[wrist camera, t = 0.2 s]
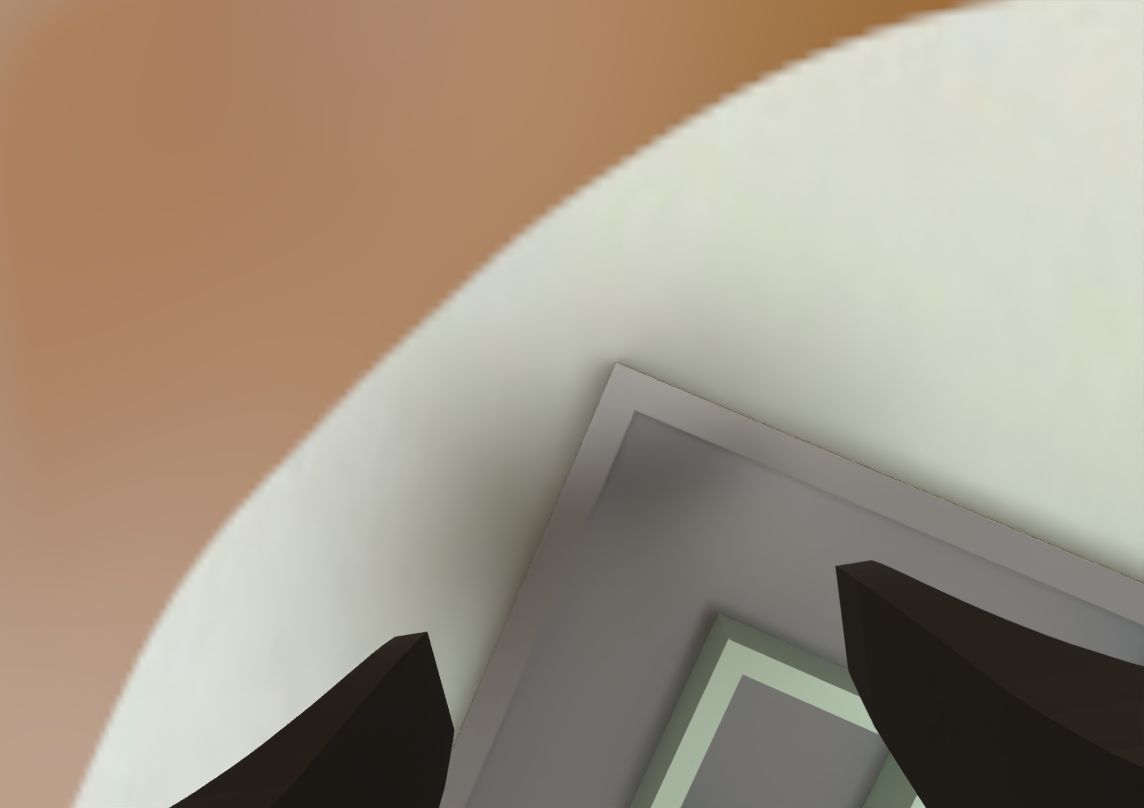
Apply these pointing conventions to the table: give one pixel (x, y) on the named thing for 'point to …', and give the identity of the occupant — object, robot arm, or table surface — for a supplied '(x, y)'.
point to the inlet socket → (712, 690)
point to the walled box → (728, 608)
